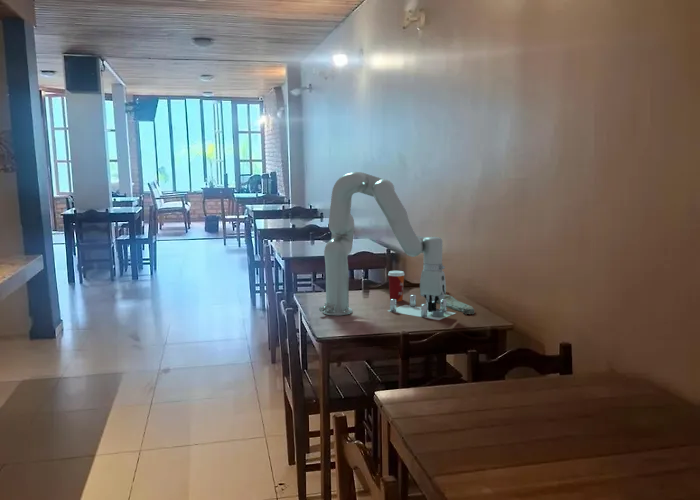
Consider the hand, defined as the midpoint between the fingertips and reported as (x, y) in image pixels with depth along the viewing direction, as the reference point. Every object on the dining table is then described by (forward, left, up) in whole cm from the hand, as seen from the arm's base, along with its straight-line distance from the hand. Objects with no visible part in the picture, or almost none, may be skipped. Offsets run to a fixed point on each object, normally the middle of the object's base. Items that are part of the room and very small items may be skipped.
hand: (432, 311), depth 242 cm
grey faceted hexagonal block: (-2, -4, -1) cm, 4 cm away
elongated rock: (+20, +3, -3) cm, 21 cm away
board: (0, +5, -2) cm, 5 cm away
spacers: (0, +7, -1) cm, 7 cm away
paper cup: (+13, +26, -2) cm, 29 cm away
